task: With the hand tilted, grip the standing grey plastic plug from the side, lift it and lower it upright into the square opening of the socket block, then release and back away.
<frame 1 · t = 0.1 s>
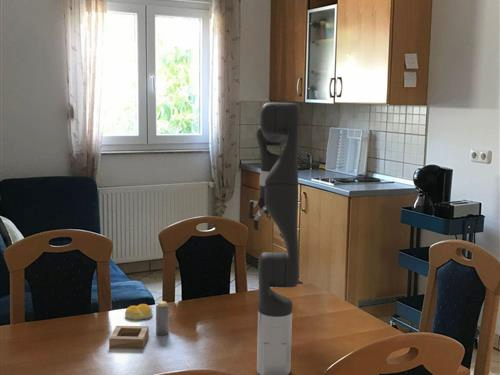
hand: (269, 230, 203), 29 cm above the table, tool pointing down, fingers open, 8 cm apart
socket: (129, 341, 180), on the table
bread roll: (139, 316, 202), on the table
plug: (162, 333, 187), on the table
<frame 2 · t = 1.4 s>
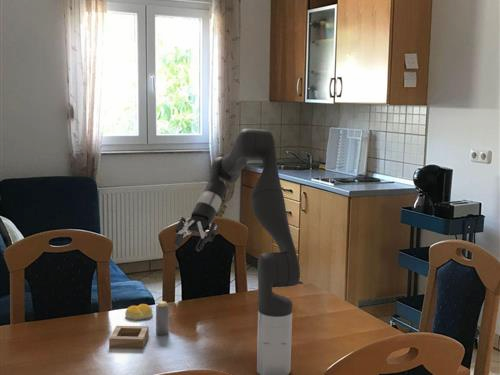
hand: (186, 247, 194), 25 cm above the table, tool tilted 45°, fingers open, 8 cm apart
nothing on the table moved.
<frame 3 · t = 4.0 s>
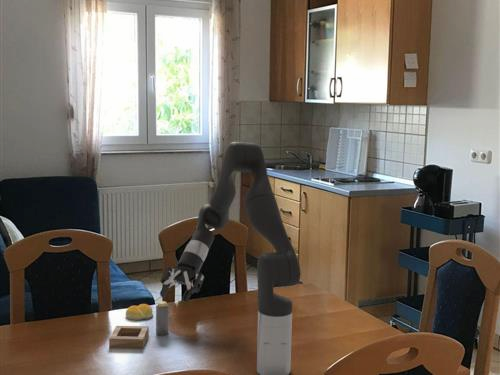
hand: (172, 299, 190), 10 cm above the table, tool tilted 45°, fingers open, 8 cm apart
nothing on the table moved.
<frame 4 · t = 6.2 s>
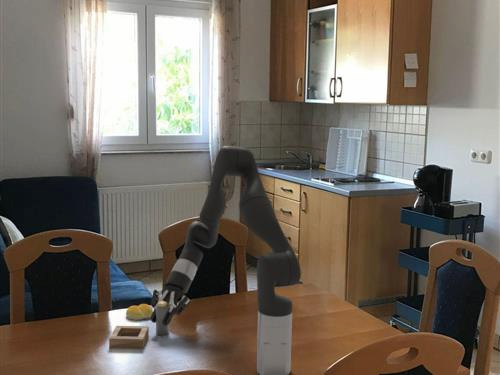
hand: (158, 322, 185), 4 cm above the table, tool tilted 45°, fingers closed on plug, 4 cm apart
plug: (162, 333, 187), on the table, touching gripper
everything else where it was.
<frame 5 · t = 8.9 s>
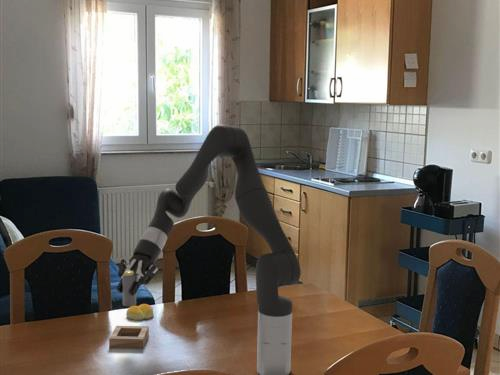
hand: (125, 292, 176), 16 cm above the table, tool tilted 45°, fingers closed on plug, 4 cm apart
plug: (129, 304, 178), point 12 cm above the table, touching gripper
everything else where it was.
when the fingers open (6 cm above the table, at t = 11.5 s): plug drops 2 cm, resting in socket.
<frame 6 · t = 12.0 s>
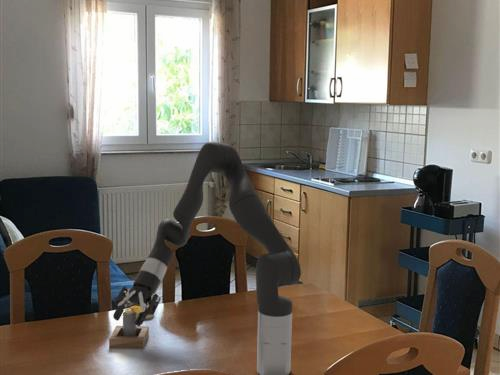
hand: (126, 322, 178), 7 cm above the table, tool tilted 45°, fingers open, 8 cm apart
plug: (129, 341, 180), resting in socket
everything else where it was.
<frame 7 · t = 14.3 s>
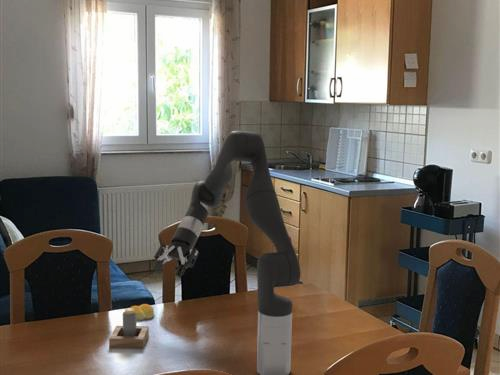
hand: (166, 274, 188), 18 cm above the table, tool tilted 45°, fingers open, 8 cm apart
nothing on the table moved.
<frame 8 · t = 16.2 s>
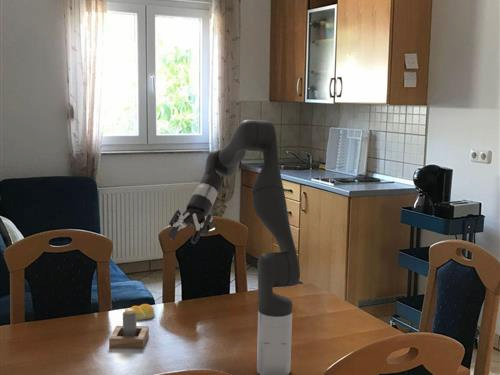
hand: (181, 240, 188), 29 cm above the table, tool tilted 45°, fingers open, 8 cm apart
nothing on the table moved.
at the end: plug 0.1 cm off-centre on the socket, point 0.0 cm above the socket's base; plug tilted 0°; the gripper is holding nothing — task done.
